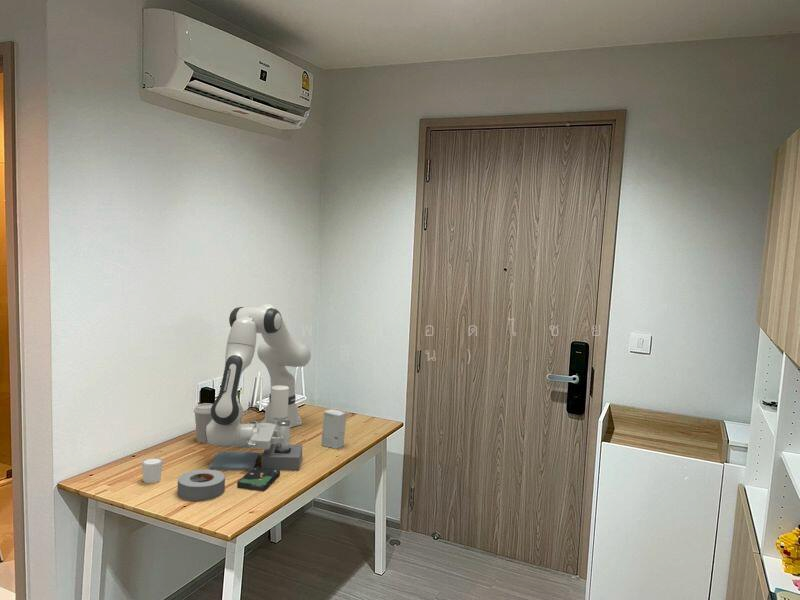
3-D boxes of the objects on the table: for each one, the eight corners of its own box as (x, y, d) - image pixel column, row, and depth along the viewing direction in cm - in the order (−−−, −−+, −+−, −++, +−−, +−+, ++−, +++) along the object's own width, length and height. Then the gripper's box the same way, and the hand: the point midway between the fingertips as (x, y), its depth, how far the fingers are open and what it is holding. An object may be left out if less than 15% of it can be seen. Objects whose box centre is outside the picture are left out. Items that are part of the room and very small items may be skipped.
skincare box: (321, 445, 254) (322, 411, 252) (328, 441, 259) (330, 408, 258) (337, 449, 250) (339, 415, 248) (345, 445, 255) (346, 411, 254)
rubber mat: (218, 453, 238) (218, 451, 238) (259, 454, 239) (259, 452, 239) (209, 469, 222) (209, 466, 222) (252, 470, 223) (252, 467, 223)
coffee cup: (216, 436, 258) (217, 402, 257) (217, 443, 249) (217, 408, 248) (193, 437, 255) (193, 403, 254) (192, 445, 246) (193, 409, 245)
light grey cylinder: (146, 475, 213) (147, 457, 213) (165, 477, 213) (166, 458, 212) (137, 483, 206) (138, 464, 206) (157, 485, 206) (157, 465, 206)
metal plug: (276, 459, 234) (278, 419, 233) (289, 459, 235) (291, 420, 233) (274, 464, 229) (276, 423, 228) (287, 464, 230) (289, 424, 228)
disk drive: (253, 473, 222) (236, 489, 208) (254, 466, 222) (236, 481, 207) (280, 476, 220) (264, 492, 206) (280, 469, 220) (265, 484, 206)
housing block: (266, 455, 239) (267, 443, 238) (301, 456, 240) (302, 444, 239) (261, 469, 225) (261, 456, 224) (298, 470, 226) (299, 457, 225)
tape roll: (199, 479, 213) (199, 465, 213) (234, 488, 208) (234, 474, 207) (167, 495, 199) (167, 480, 199) (203, 505, 193) (204, 490, 193)
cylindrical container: (282, 449, 246) (284, 390, 244) (266, 447, 248) (268, 388, 245) (289, 444, 253) (291, 386, 251) (273, 442, 255) (275, 384, 252)
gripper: (244, 436, 219) (282, 438, 220) (253, 419, 240) (288, 420, 241) (243, 453, 220) (281, 454, 221) (253, 434, 240) (287, 436, 241)
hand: (285, 436), depth 231 cm, fingers closed on metal plug, 5 cm apart
